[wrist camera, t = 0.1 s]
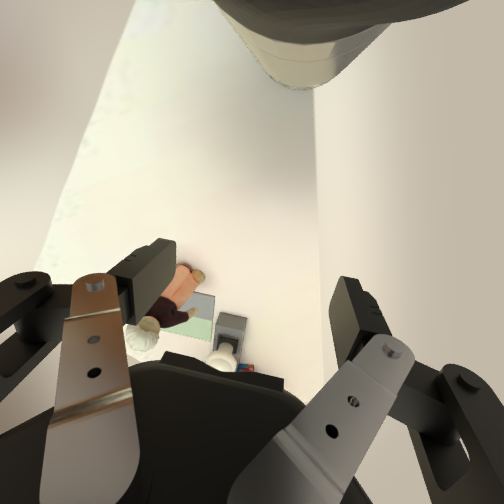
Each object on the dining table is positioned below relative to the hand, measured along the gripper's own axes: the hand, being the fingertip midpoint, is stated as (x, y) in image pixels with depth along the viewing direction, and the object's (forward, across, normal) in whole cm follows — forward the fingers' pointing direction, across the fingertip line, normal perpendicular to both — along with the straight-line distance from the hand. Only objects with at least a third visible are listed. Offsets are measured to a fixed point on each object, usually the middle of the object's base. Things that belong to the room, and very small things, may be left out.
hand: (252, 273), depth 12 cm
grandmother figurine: (+18, +10, +13) cm, 25 cm away
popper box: (+18, +3, +24) cm, 30 cm away
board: (+18, +10, +21) cm, 29 cm away
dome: (+16, +3, +22) cm, 27 cm away
